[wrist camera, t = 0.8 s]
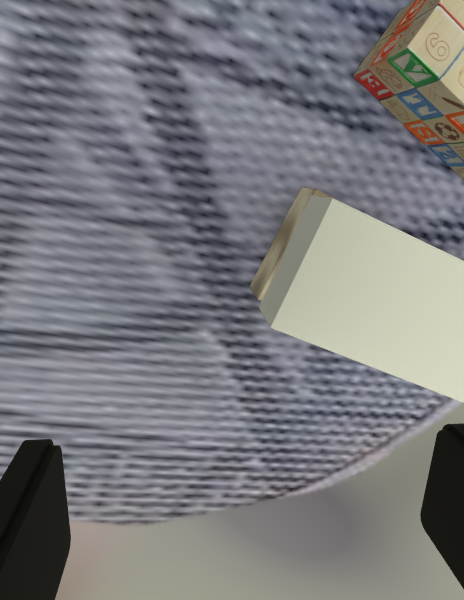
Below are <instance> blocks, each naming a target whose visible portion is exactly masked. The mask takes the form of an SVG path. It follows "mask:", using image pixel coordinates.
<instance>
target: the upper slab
mask: <svg viewBox="0 0 464 600" xmlns="http://www.w3.org/2000/svg"><path fill="white" fill-rule="evenodd" d="M259 309H260V310H261V312H262V314H263V316H264V317H265V319H266V321H267V323H268V324H269V326H270V328H272V329H275V330H278V331H280V332H283V333H285V334H288V335H291V336H293V337H296V338H298V339H301V340H303V341H306V342H309V343H311V344H314V345H316V346H319V347H322V348H324V349H327V350H329V351H332V352H334V353H337V354H340V355H342V356H345V357H347V358H350V359H353V360H355V361H358V362H360V363H363V364H365V365H368V366H371V367H373V368H376V369H378V370H381V371H383V372H386V373H389V374H391V375H394V376H396V377H399V378H402V379H404V380H407V381H409V382H412V383H414V384H417V385H420V386H422V387H425V388H427V389H430V390H433V391H435V392H438V393H440V394H443V395H445V396H448V397H451V398H453V399H456V400H458V401H461V402H463V403H464V261H463V260H461V259H459V258H456V257H454V256H452V255H450V254H448V253H446V252H444V251H442V250H440V249H438V248H436V247H434V246H431V245H429V244H427V243H425V242H423V241H421V240H419V239H417V238H415V237H413V236H411V235H408V234H406V233H404V232H402V231H400V230H398V229H396V228H394V227H392V226H390V225H388V224H386V223H383V222H381V221H379V220H377V219H375V218H373V217H371V216H369V215H367V214H365V213H363V212H361V211H358V210H356V209H354V208H352V207H350V206H348V205H346V204H344V203H342V202H340V201H338V200H335V199H333V198H328V197H321V196H314V195H311V197H310V199H309V201H308V203H307V205H306V207H305V209H304V212H303V214H302V216H301V218H300V220H299V222H298V224H297V226H296V229H295V231H294V233H293V235H292V237H291V239H290V241H289V244H288V246H287V248H286V250H285V252H284V254H283V256H282V259H281V261H280V263H279V265H278V267H277V269H276V271H275V273H274V276H273V278H272V280H271V282H270V284H269V286H268V288H267V290H266V293H265V295H264V297H263V299H262V301H261V303H260V305H259Z"/></svg>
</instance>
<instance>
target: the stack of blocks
mask: <svg viewBox="0 0 464 600" xmlns="http://www.w3.org/2000/svg"><path fill="white" fill-rule="evenodd" d="M354 78H355V79H356V80H358V81H359V82H360V83H361V84H362V85H363V86H364V87H365V88H366V89H368V90H369V91H370V92H371V93H372V94H373V95H374V96H375V97H376V98H377V99H379V100H380V103H381V104H382V105H383V106H384V107H385V108H386V109H387V110H388V111H389V112H391V113H392V114H393V115H394V116H395V117H396V118H397V119H398V120H399V121H400V122H402V123H403V124H404V126H405V127H406V128H407V129H408V130H410V131H411V132H412V133H413V134H414V135H415V136H416V137H417V138H418V139H419V140H420V141H421V142H422V143H423V144H424V145H427V146H428V147H429V148H430V149H431V150H432V151H433V152H434V153H435V154H436V155H437V156H438V157H439V158H440V159H442V160H443V161H444V162H445V163H446V164H447V165H448V166H450V168H451V169H452V170H453V171H455V172H456V173H457V174H458V175H459V176H460V177H461V178H462V179H463V180H464V0H413V1H412V2H411V3H410V4H408V5H407V6H406V7H404V8H403V9H402V10H401V11H399V13H398V14H397V15H396V17H395V18H394V20H393V21H392V22H391V24H390V25H389V27H388V28H387V29H386V31H385V32H384V34H383V35H382V36H381V38H380V39H379V41H378V42H377V44H376V45H375V46H374V47H373V49H372V50H371V51H370V53H369V54H368V55H367V57H366V58H365V59H364V61H363V62H362V64H361V65H360V67H359V68H358V70H357V71H356V73H355V74H354Z"/></svg>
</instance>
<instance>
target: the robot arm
mask: <svg viewBox="0 0 464 600" xmlns="http://www.w3.org/2000/svg"><path fill="white" fill-rule="evenodd" d="M421 522H422V525H423V528H424V529H425V531H426V533H427V534H428V536H429V537H430V539H431V540H432V542H433V543H434V545H435V546H436V548H437V549H438V551H439V552H440V554H441V555H442V557H443V558H444V560H445V561H446V563H447V564H448V566H449V567H450V569H451V570H452V572H453V573H454V575H455V577H456V578H457V580H458V581H459V582H460V584H461V586H462V587H463V589H464V424H447V425H445V426H444V427H443V429H442V430H441V431H439V432H438V433H437V437H436V442H435V446H434V452H433V456H432V461H431V465H430V471H429V475H428V480H427V485H426V490H425V494H424V500H423V504H422V509H421ZM70 541H71V535H70V525H69V516H68V506H67V497H66V488H65V478H64V469H63V459H62V451H61V447H60V446H59V445H56V446H54V445H53V442H52V440H51V439H43V440H25V441H24V442H23V443H22V444H21V446H20V448H19V449H18V451H17V453H16V455H15V456H14V458H13V460H12V461H11V463H10V465H9V467H8V468H7V470H6V472H5V473H4V475H3V477H2V478H1V480H0V600H55V597H56V594H57V591H58V587H59V584H60V580H61V577H62V574H63V571H64V567H65V564H66V561H67V557H68V554H69V549H70Z"/></svg>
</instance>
